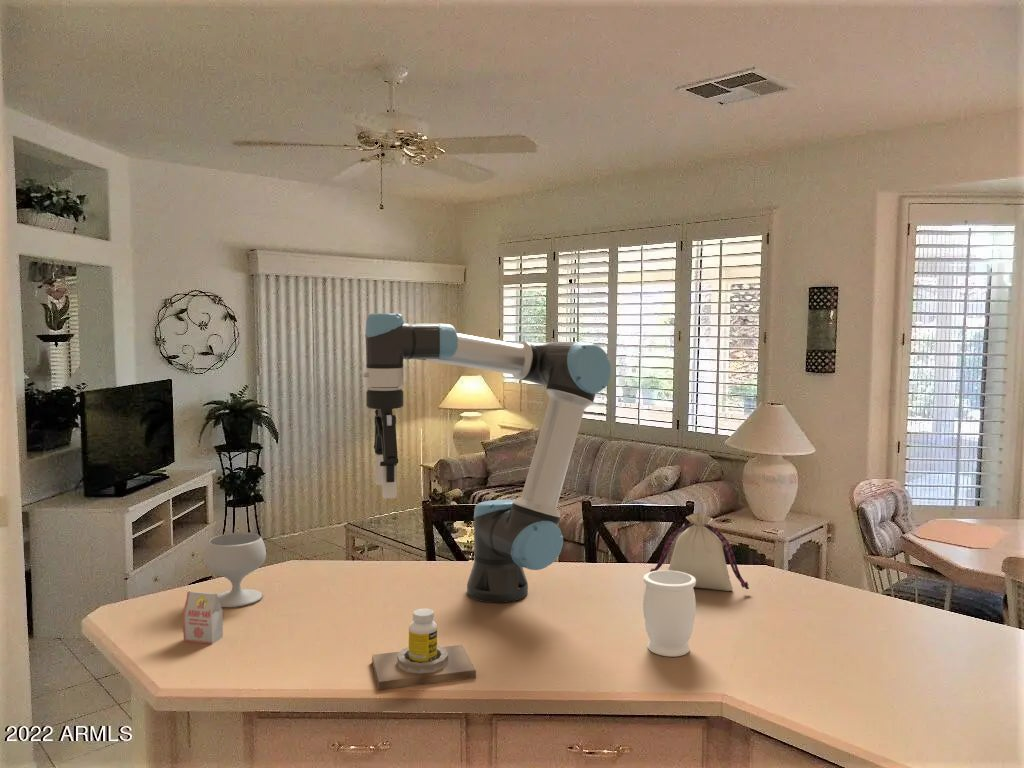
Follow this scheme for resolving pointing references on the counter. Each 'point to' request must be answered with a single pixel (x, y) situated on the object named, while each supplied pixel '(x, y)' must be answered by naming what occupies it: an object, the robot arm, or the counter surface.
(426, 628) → the supplement bottle
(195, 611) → the white carton
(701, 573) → the pouch
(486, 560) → the robot arm
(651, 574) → the jar
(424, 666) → the mount board
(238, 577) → the chalice
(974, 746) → the counter surface
